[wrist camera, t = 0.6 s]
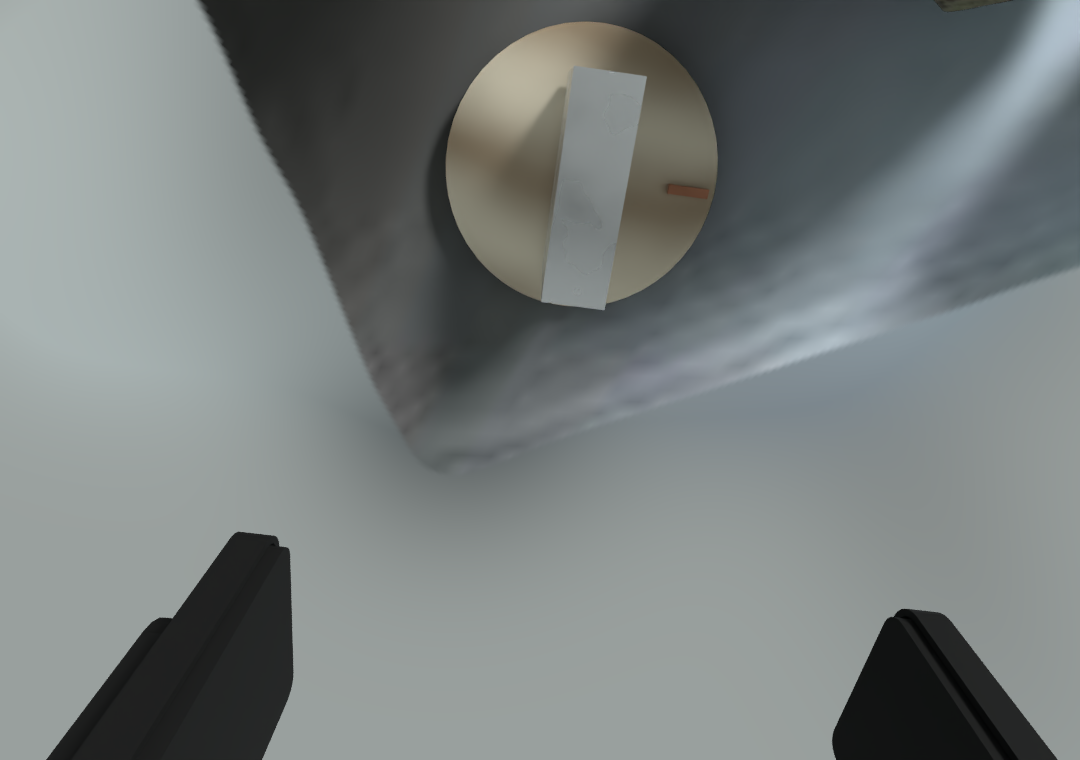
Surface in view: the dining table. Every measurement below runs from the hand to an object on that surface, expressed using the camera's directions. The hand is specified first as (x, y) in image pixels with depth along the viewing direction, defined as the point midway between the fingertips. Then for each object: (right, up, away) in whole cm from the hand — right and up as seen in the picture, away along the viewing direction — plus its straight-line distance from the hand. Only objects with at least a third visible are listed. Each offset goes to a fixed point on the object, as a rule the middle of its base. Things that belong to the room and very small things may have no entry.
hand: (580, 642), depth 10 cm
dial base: (+1, +14, +20) cm, 24 cm away
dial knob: (+1, +12, +18) cm, 22 cm away
